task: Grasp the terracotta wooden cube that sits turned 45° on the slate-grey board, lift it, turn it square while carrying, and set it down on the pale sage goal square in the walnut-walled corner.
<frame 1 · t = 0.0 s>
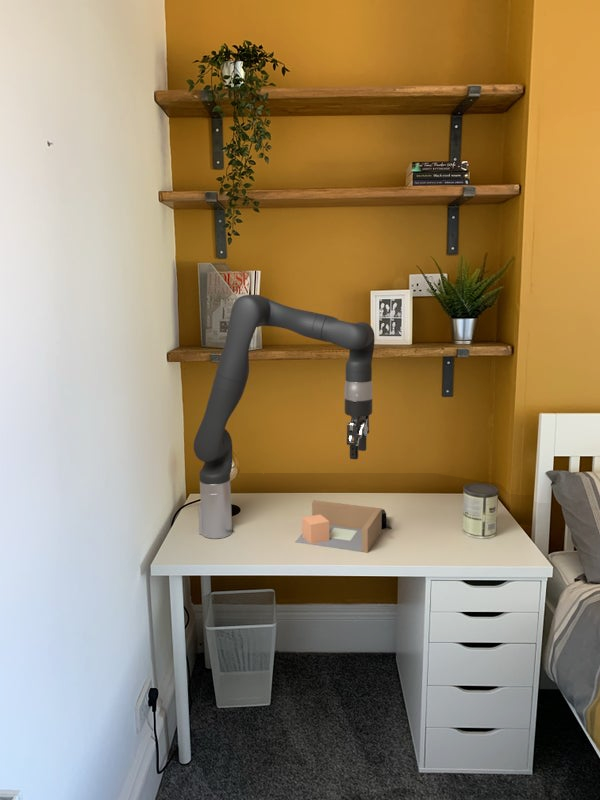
hand: (358, 454, 171), 29 cm above the table, fingers open, 8 cm apart
black notched block: (380, 525, 199), on the table
cube: (315, 538, 185), point 1 cm above the table, touching arena
arena: (339, 539, 187), on the table
coffee can: (478, 532, 191), on the table
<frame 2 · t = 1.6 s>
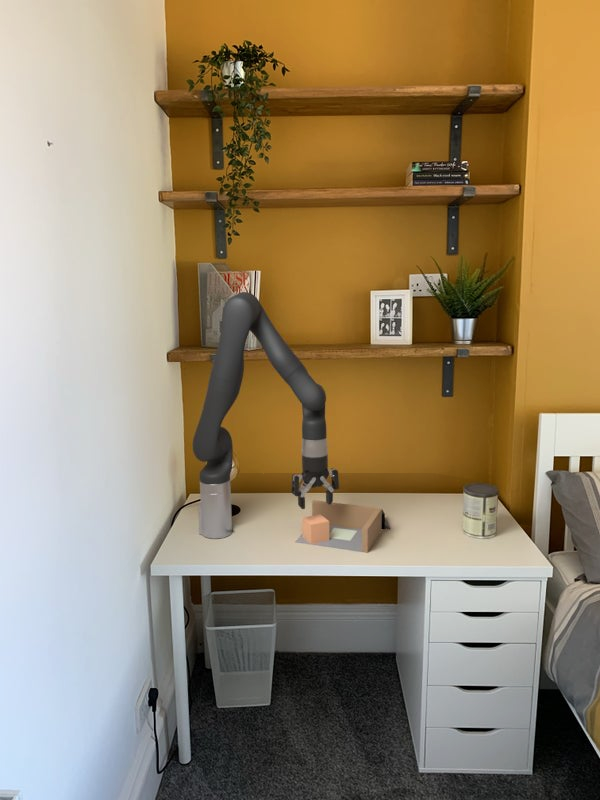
hand: (315, 506, 183), 11 cm above the table, fingers open, 8 cm apart
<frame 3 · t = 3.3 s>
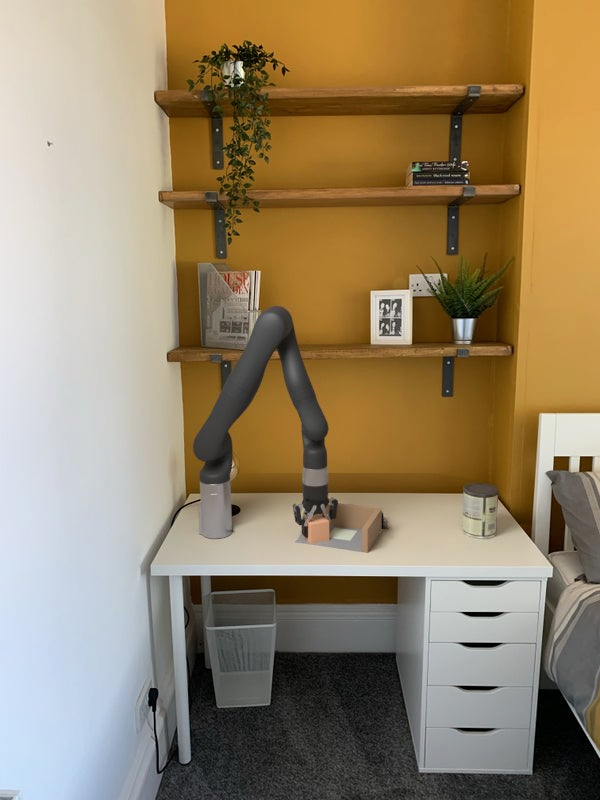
hand: (315, 534, 185), 2 cm above the table, fingers closed on cube, 6 cm apart
cube: (315, 538, 185), point 1 cm above the table, touching arena, gripper
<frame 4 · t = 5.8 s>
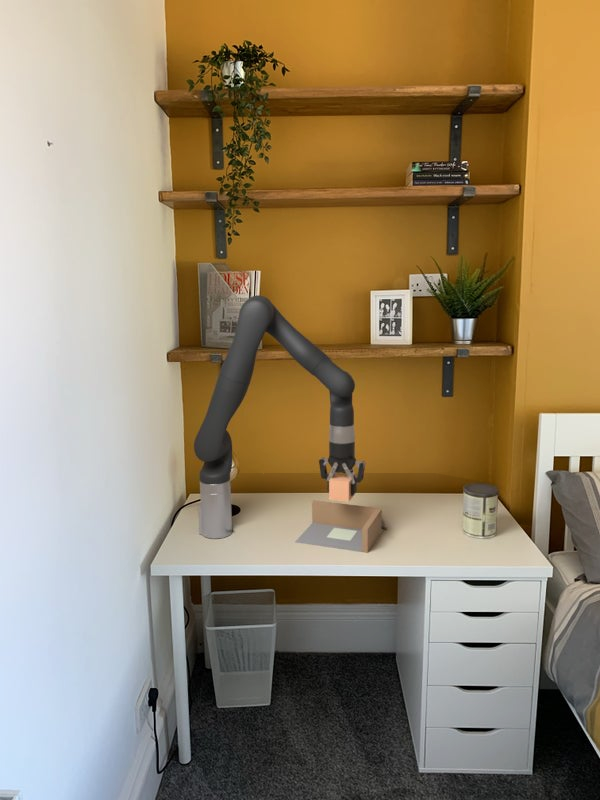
hand: (342, 493, 185), 14 cm above the table, fingers closed on cube, 6 cm apart
cube: (341, 497, 186), point 13 cm above the table, touching gripper
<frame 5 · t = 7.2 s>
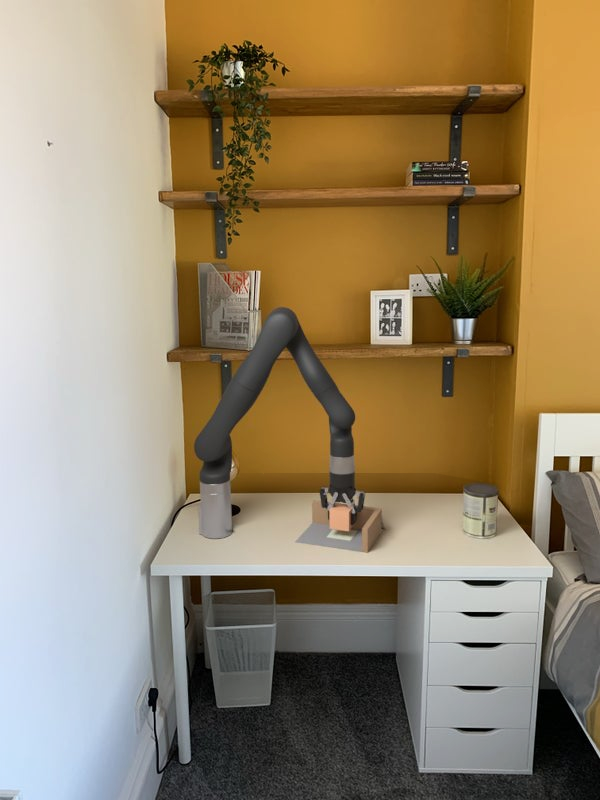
hand: (342, 522, 187), 5 cm above the table, fingers closed on cube, 6 cm apart
cube: (342, 526, 187), point 4 cm above the table, touching gripper
when the fingers open (4 cm above the table, at t = 8.5 s): cube drops 1 cm, resting on arena.
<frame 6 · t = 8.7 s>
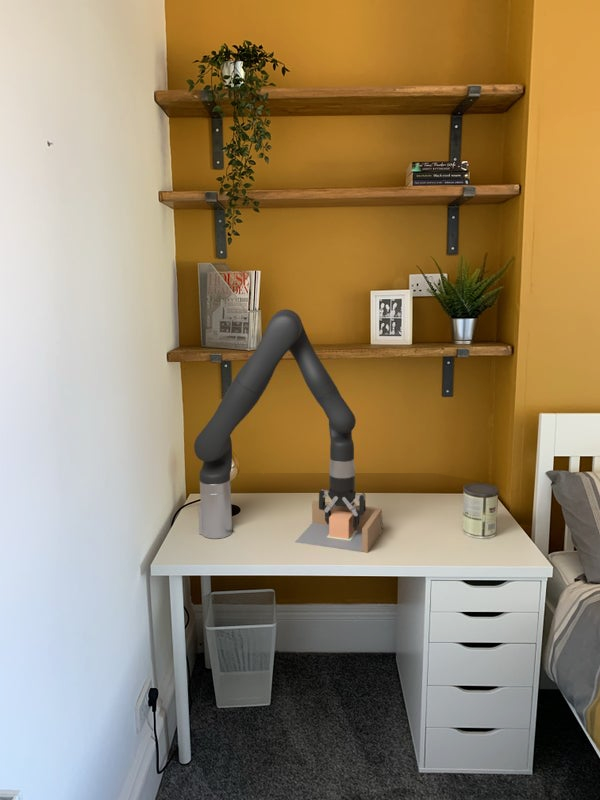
hand: (342, 524, 187), 4 cm above the table, fingers open, 8 cm apart
cube: (341, 533, 188), point 1 cm above the table, touching arena
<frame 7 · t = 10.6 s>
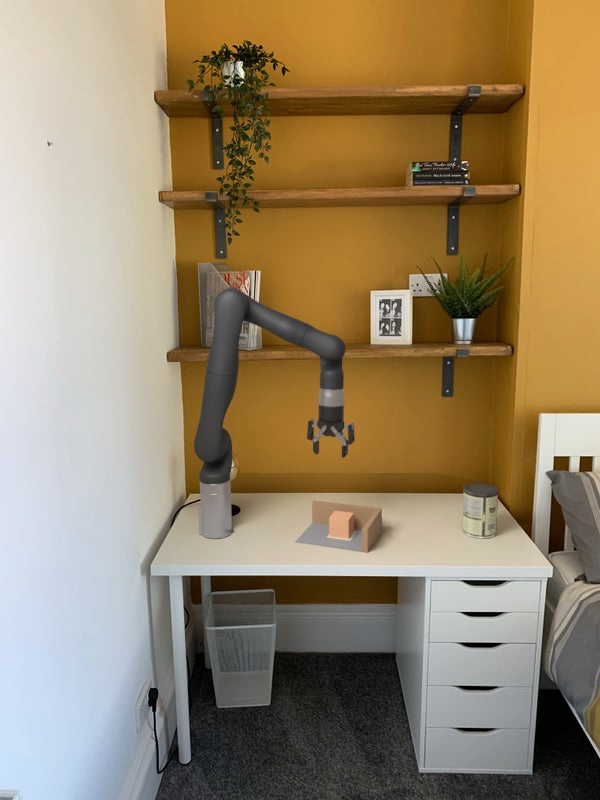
hand: (330, 455, 187), 25 cm above the table, fingers open, 8 cm apart
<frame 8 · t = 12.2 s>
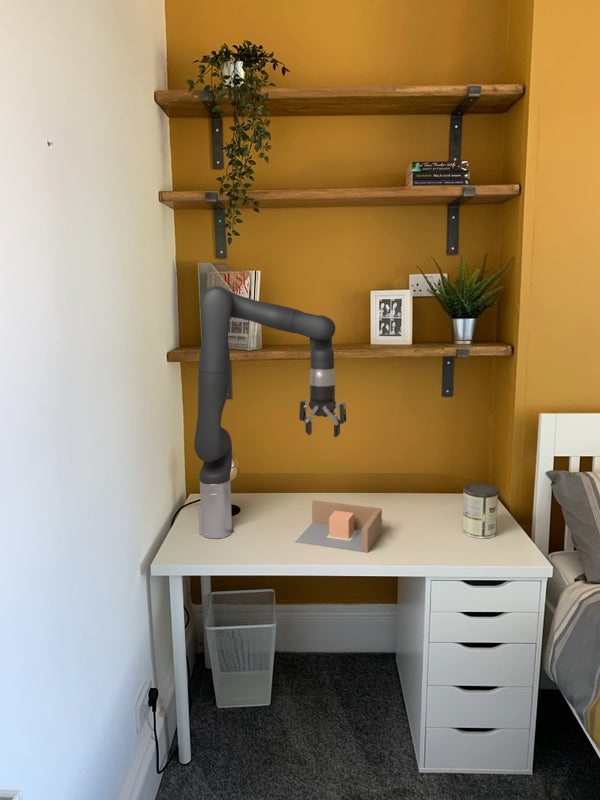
hand: (322, 435, 189), 30 cm above the table, fingers open, 8 cm apart
at the end: cube 0.1 cm from the target spot on the arena, point 1.1 cm above the arena's base; cube tilted 0°; the gripper is holding nothing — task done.
